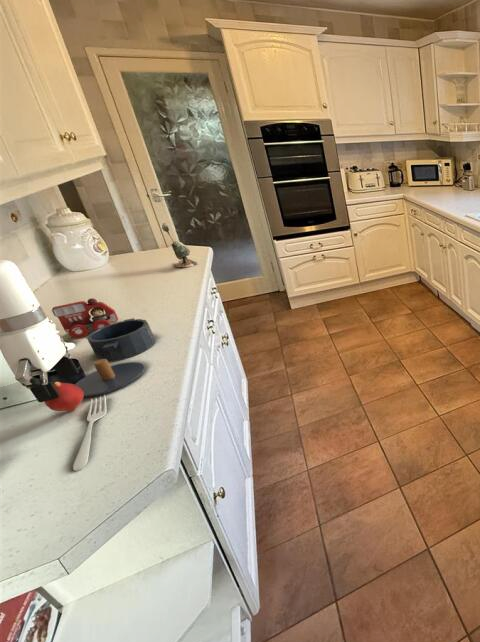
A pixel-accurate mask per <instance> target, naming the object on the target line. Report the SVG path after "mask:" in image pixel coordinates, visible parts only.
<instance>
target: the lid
mask: <svg viewBox="0 0 480 642" xmlns="http://www.w3.org/2000/svg"><path fill="white" fill-rule="evenodd" d="M93 365H94V367H95V369H96V371H94V372H92V373H90V374H88V375H86V376H84V377H83V378H81V379H80V380H78V381H76V383H74V385H76V386H78V387H79V388H81V389H82V391H83V393H84V397H83V398H88V397H95V396H100V395H105V394H107V393H110V392H112V391H115V390H118V389H120V388H123V387H125V386H127V385H129V384H130V383H132V382H134V381H136V380H137V379H138V378H140V377H141V376H142V375H143V374H144V372H145V370H146V367H145V365H144V364H143V363H140V362H134V361H133V362H132V361H131V362H124V363H118V364H114V365H111V364H110V362H108V361H107V359H101V360H98V359H97V360H96V361H94V362H93Z"/></svg>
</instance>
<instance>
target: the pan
mask: <svg viewBox="0 0 480 642" xmlns="http://www.w3.org/2000/svg"><path fill="white" fill-rule="evenodd" d="M86 339H87V341H88V343H89V346H90V347H91V349H92V351H93V353H94V354H95V356H96V358H97V361H98V360H101V359H107V361H108V362H109V363H110V362H116V361H123V360H125V359H129V358H132V357H135V356H138V355H140V354H142V353H144V352H146V351H148V350H149V349H151V348H152V347H154V346H155V344H156V338H155V336H154V334H153V331H152V329H151V327H150V325H149V322H148V321H147V320H146V319H141V318H136V319H135V318H133V317H132V318H128V319H124V320H121V321H117V322H114V323H110V325H108V326H105V327H103V328H100V329H98V330H96V331H94V330H93V332H91V333H90V334H89V335H88V336H87V337H86Z"/></svg>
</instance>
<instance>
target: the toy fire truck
mask: <svg viewBox="0 0 480 642" xmlns="http://www.w3.org/2000/svg"><path fill="white" fill-rule="evenodd" d="M51 313H52V314H53V316H54V317H56V318H57V319H58V320H59V322H60V325H61V326H62V328H63V330H64V331H65V333H67V334H69V336H70V337H71V338H74V339H82V338H85V337H86V336H87V335H88V334H89V329H92V330H93V332H94V331H96V330H98V329H100V328H103V327H105V326H108V325H110V324H114V323H117V322H118V320H119V317H118V315H117V312H116V310H115V309H114V308H112V307H110V306H109V305H107V304H106V303H104V302H102V301H98V300H97V299H96V298H93V297H92V298H88V299H87V302H86V301H84V300H82V301H81V300H80V301H76V302H71V303H66V304H61V305H57V306H54V307H52V309H51Z"/></svg>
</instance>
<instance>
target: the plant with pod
mask: <svg viewBox="0 0 480 642" xmlns="http://www.w3.org/2000/svg"><path fill="white" fill-rule="evenodd" d="M161 230H162V231H164V232H166V233H167V234H168V236H169V238H170V239H171V241H172V243H171V247H172V251H173V252H174V255H175V257H176V258H177V259H178V261H177V263H175V264H174V266H175V267H176V268H191V267H193V266H196V265H198V262H197V261H195V260H191V259H190V258H189V257H188V256H190V254H191V250H190V248H189V247H188V245H186V244H184V243H183V242H181V241H177V240H176V241H174V239H173V238H172V236H171V235H170V229H169V226H168V224H167V223H166V222H163V223H162V226H161Z"/></svg>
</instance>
